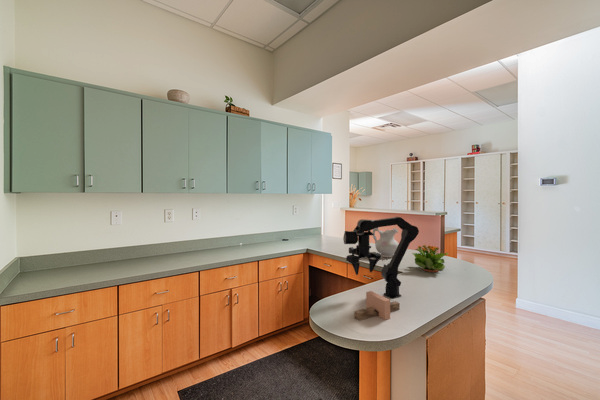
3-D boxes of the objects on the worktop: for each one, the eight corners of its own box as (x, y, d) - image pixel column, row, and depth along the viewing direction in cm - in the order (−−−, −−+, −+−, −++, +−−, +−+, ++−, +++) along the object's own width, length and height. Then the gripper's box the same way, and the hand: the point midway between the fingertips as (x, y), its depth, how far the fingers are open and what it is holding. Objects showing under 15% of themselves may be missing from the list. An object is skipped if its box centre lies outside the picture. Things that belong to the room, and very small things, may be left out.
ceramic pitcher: (372, 259, 228) (372, 229, 225) (372, 252, 247) (372, 225, 244) (399, 260, 223) (400, 230, 220) (397, 253, 242) (397, 225, 239)
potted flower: (454, 276, 174) (455, 249, 174) (415, 275, 179) (415, 248, 179) (442, 266, 199) (442, 242, 198) (408, 265, 204) (408, 241, 203)
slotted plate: (371, 307, 128) (371, 291, 128) (390, 318, 118) (390, 299, 118) (366, 309, 127) (366, 292, 127) (384, 319, 116) (384, 301, 116)
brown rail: (395, 307, 129) (395, 301, 129) (399, 309, 127) (399, 302, 127) (354, 318, 118) (354, 311, 118) (358, 320, 116) (358, 313, 116)
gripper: (367, 240, 154) (367, 267, 154) (340, 242, 145) (340, 272, 146) (381, 243, 144) (381, 272, 144) (353, 246, 135) (353, 277, 136)
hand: (363, 273), depth 143 cm, fingers open, 9 cm apart
